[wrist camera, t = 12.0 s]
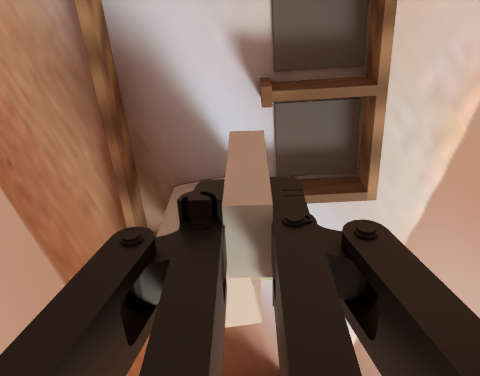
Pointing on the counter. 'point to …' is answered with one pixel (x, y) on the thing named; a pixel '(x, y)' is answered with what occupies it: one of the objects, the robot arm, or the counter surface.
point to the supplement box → (238, 289)
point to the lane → (313, 189)
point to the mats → (312, 57)
